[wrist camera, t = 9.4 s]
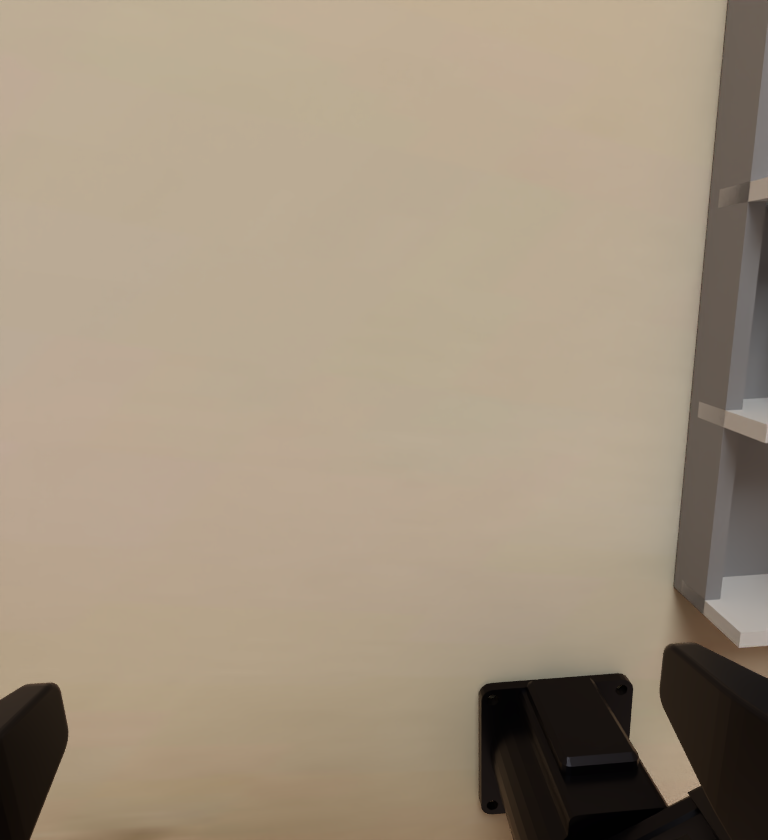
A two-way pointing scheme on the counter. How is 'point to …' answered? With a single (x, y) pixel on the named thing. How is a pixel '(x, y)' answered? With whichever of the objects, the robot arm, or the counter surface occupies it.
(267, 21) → the counter surface
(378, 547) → the counter surface
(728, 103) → the shelf unit
